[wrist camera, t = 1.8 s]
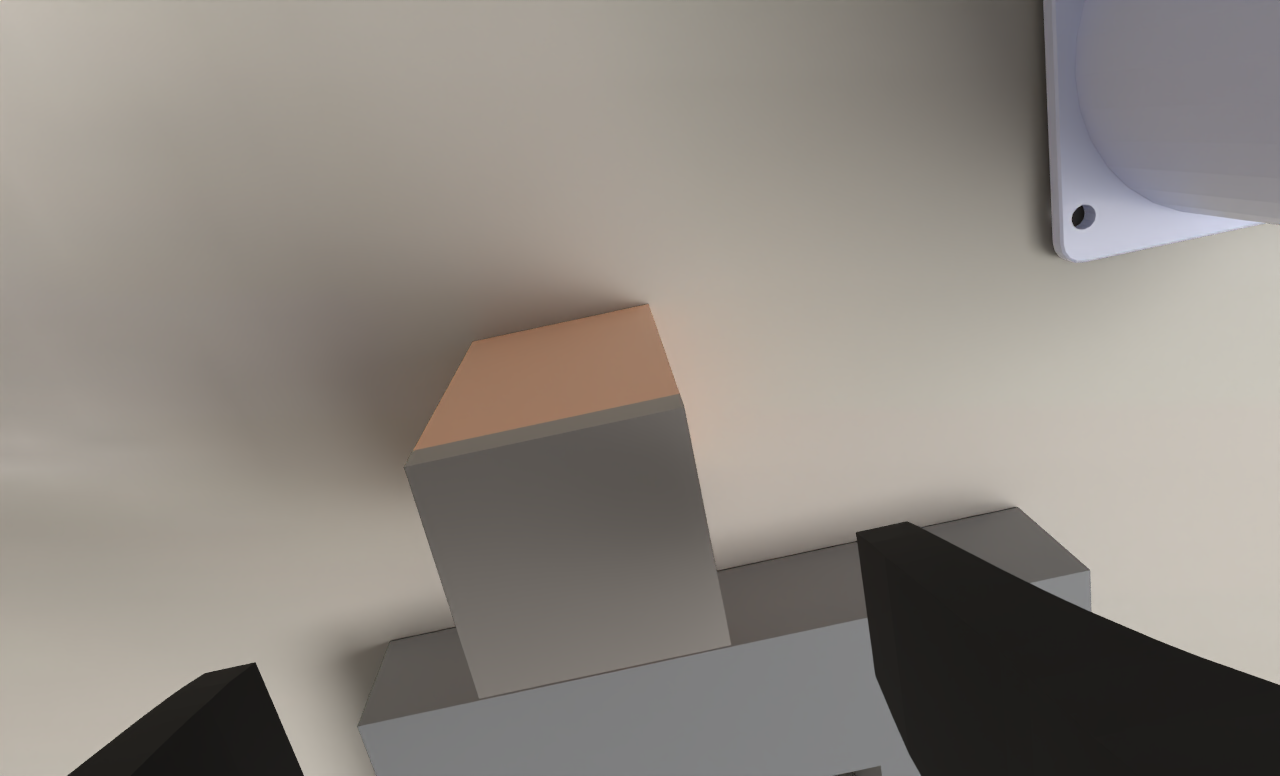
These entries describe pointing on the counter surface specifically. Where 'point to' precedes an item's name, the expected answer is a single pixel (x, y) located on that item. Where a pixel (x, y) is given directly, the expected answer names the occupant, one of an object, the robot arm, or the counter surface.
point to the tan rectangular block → (567, 505)
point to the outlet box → (697, 683)
